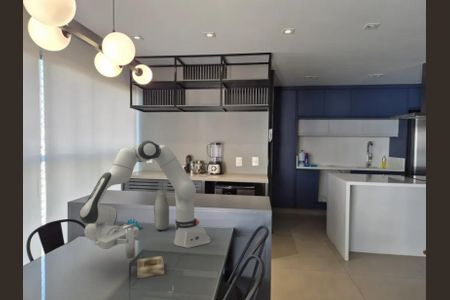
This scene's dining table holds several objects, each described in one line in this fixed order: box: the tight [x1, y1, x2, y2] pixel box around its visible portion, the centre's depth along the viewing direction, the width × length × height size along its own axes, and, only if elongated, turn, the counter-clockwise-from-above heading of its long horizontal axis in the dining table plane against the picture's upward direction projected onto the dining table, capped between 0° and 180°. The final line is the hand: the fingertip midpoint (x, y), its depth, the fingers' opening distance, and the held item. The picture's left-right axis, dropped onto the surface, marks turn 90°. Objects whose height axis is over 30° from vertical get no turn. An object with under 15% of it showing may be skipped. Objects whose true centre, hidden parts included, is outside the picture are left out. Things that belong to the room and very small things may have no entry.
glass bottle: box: [153, 189, 170, 231], centre depth 182 cm, size 10×10×28 cm
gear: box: [126, 218, 141, 229], centre depth 182 cm, size 11×6×10 cm
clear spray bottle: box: [123, 223, 136, 260], centre depth 122 cm, size 7×4×15 cm, turn 153°
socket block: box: [136, 255, 165, 279], centre depth 125 cm, size 12×12×4 cm
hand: (131, 239), depth 121 cm, fingers closed on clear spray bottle, 4 cm apart
